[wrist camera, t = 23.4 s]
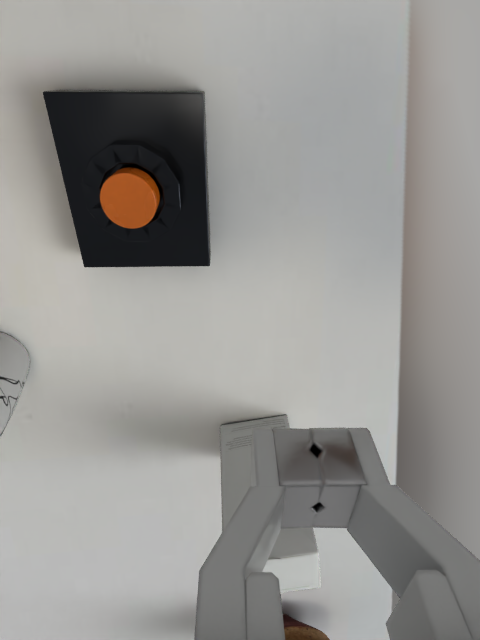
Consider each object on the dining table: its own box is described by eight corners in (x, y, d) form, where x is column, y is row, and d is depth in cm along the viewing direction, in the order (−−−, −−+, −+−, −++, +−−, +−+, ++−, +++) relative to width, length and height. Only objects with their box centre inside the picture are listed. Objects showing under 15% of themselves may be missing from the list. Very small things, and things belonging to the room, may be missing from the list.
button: (101, 167, 25) (94, 172, 24) (156, 167, 25) (152, 173, 24) (111, 220, 27) (105, 229, 25) (162, 220, 27) (159, 228, 26)
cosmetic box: (227, 457, 47) (230, 602, 34) (218, 421, 44) (216, 568, 31) (294, 448, 47) (322, 592, 34) (290, 411, 43) (320, 556, 30)
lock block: (56, 89, 26) (31, 92, 22) (204, 91, 26) (202, 93, 23) (92, 255, 32) (77, 276, 29) (210, 254, 33) (209, 275, 29)
